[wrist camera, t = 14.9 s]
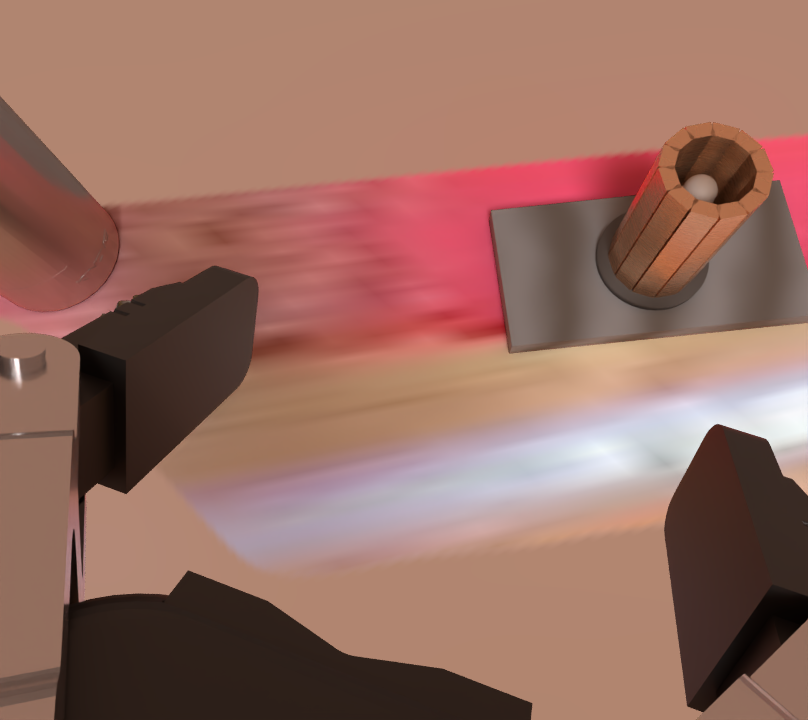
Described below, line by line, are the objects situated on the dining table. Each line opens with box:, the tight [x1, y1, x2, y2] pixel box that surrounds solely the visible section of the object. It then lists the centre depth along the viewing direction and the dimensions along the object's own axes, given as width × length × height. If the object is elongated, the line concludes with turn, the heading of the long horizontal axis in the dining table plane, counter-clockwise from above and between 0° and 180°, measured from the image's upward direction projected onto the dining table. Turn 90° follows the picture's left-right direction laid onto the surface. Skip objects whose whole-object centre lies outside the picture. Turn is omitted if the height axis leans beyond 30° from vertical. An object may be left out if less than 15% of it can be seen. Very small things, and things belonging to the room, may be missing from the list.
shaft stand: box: [489, 174, 808, 353], centre depth 40 cm, size 20×10×11 cm, turn 95°
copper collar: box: [608, 122, 774, 298], centre depth 38 cm, size 6×6×10 cm
